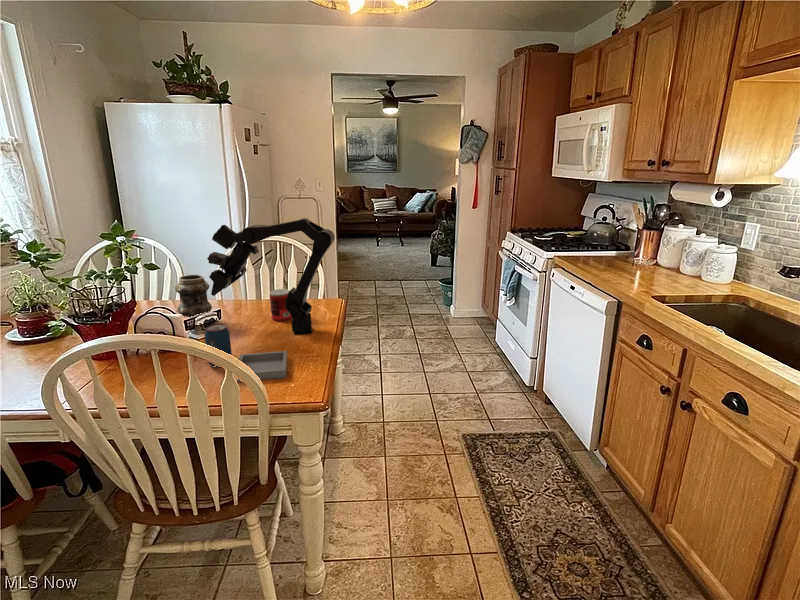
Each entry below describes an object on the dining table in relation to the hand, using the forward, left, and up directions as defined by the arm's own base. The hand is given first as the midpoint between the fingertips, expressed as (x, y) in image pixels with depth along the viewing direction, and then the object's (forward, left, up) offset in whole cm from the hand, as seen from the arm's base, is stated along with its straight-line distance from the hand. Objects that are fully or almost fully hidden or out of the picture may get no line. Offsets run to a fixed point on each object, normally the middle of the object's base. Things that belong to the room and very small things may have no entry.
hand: (218, 291), depth 163 cm
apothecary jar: (+11, -11, -15) cm, 21 cm away
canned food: (-21, -9, -15) cm, 27 cm away
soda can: (-4, +30, -15) cm, 34 cm away
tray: (-17, +37, -15) cm, 44 cm away
